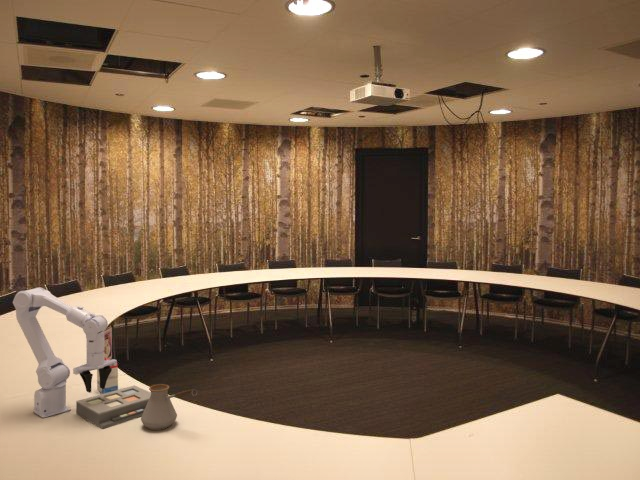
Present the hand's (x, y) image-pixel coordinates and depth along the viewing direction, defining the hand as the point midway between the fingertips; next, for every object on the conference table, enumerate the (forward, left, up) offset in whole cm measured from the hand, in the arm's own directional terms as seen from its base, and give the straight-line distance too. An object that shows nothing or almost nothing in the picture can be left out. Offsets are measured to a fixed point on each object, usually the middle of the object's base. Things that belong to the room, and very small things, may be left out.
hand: (95, 389), depth 177 cm
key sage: (0, 0, -6) cm, 6 cm away
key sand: (+7, 0, -6) cm, 9 cm away
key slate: (+13, 0, -6) cm, 14 cm away
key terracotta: (+10, -7, -6) cm, 13 cm away
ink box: (+14, +18, -9) cm, 24 cm away
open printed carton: (+31, +57, -9) cm, 66 cm away
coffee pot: (+11, -29, -9) cm, 32 cm away
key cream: (+3, -6, -6) cm, 9 cm away
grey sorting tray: (+6, -5, -8) cm, 12 cm away
